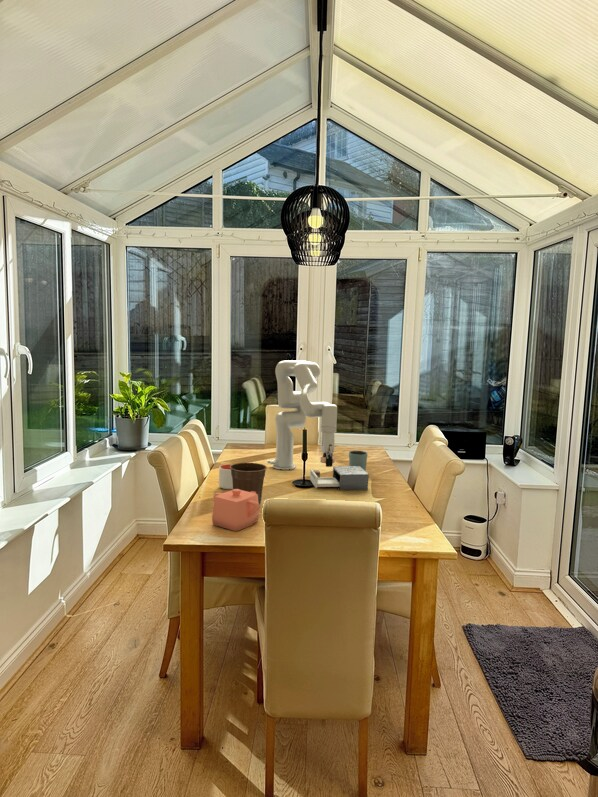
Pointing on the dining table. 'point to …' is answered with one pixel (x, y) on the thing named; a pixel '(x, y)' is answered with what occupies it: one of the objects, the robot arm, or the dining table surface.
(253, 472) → the plant pot
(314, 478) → the white drawer
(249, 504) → the teapot
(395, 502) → the dining table surface
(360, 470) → the housing
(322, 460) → the pink domed disc
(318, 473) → the walnut block
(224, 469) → the cup
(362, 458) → the grey green tumbler
